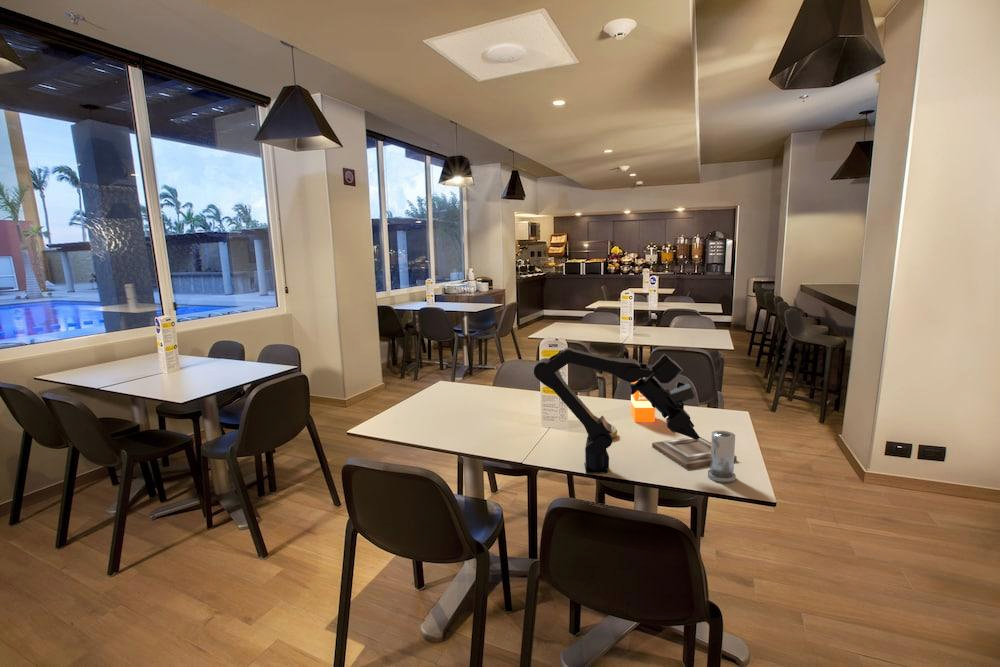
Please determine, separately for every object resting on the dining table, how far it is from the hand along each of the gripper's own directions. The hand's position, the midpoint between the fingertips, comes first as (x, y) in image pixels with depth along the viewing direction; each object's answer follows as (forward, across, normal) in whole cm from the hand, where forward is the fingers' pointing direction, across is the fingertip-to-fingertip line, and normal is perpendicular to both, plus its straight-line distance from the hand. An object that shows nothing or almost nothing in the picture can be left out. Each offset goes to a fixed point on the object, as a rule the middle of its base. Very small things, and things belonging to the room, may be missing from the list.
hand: (695, 432), depth 136 cm
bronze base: (+11, +16, +8) cm, 21 cm away
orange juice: (+1, +49, +18) cm, 52 cm away
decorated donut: (-10, +28, +29) cm, 42 cm away
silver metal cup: (+14, 0, +4) cm, 15 cm away
